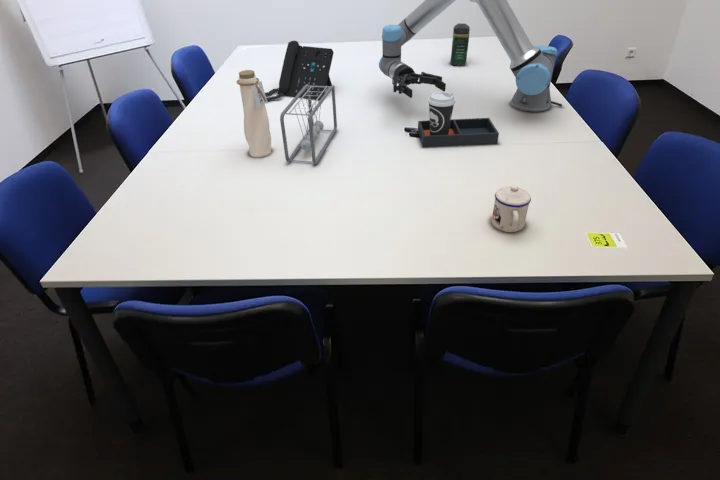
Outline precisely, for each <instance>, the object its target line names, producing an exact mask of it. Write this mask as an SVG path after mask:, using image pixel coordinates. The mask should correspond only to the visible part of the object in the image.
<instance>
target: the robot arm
mask: <svg viewBox="0 0 720 480" xmlns="http://www.w3.org/2000/svg"><path fill="white" fill-rule="evenodd" d="M455 1H456V0H424V1H423V2H422V3H420V4H419V5H418V6H417V7H416V8H414V10H413V11H411V12H410V14H408V15H407V16H406V17H405V18H404V19H402V20H401V22H399V23H398V24H388V25H385V26H383V27H382V33H381V34H382V35H381V39H382V42H381V43H382V44H381V45H382V56H381V58H380V59H379V61H378V68H379V70H380V72H382V73H383V75H384V76H386V77H388V78H390V79H391V84H392V88H393V89H392V92H393V93H398V95H402V94H403V95H406V96H407V97H409V98H410V99H412V98H413V89H412V88H410V87H409V86H410V85H422V84H424V85H433V86H434V87H435V88H437V89H439V90H440V91H441V92H446V87H447V83H445V82H444V81H443V76H440V75H436V74H432V73H427V72H425V71H421V72H420V73H416V72H415V70H414V69H413V68H412V67H411V66H410V65H408V64H406V63H404V62H403V61H402V47H403V46H404V45H405V44H406V43H407V42H409V41H410V40H411V39H412V38H414V37H415V36H416V35H417V34H418V33H419V32H420V31H421V30H423V29H424V27H426V26H427V25H428V24H430V23H431V22H432V21H433V20H434V19H436V17H438V16H439V15H440V14H441V13H442V12H444V11H445V10H446V9H447V8H449V6H451V5H452V4H454V2H455ZM469 2H472V3H475V4H477V5H478V8H479V9H480V11H481V12H482V14H483V16H484V17H485V20H486V21H487V23H488V24H489V26H490V28H491V29H492V31H493V33H494V34H495V36H496V38H497V40H498V42H499V43H500V45H501V46H502V48H503V50H504V51H505V53H506V55H507V57H508V58H509V60H510V64H509V69H510V71H511V73H512V74H513V76H514V78H515V84H516V91H515V92H514V94H513V96H512V98H511V106H512V107H513V108H515V109H517V110H520V111H522V112H528V113H540V112H545V111H547V110H549V109H550V108H551V106H552V105H555V106H558V107H562V106H563V104H562V103H559V102H556V101H553V100H552V97H551V88H550V87H551V83H552V78H553V73H554V69H555V64H556V59H557V57H558V49H557V48H556V47H554V46H549V45H541V44H540V45H537V44H534V45H533V44H532V42H531V40H530V39H529V36H528V35H527V33H526V31H525V30H524V27H523V26H522V24H521V22H520V21H519V19H518V17H517V16H516V13H515V12H514V10H513V9H512V7H511V5H510V3H509V1H508V0H469Z"/></svg>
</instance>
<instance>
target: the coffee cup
mask: <svg viewBox="0 0 720 480" xmlns="http://www.w3.org/2000/svg"><path fill="white" fill-rule="evenodd" d="M427 103H428V110H429V111H428V112H429V113H428V114H429V116H428V117H429V120H430V135H448V134H449V128H450V123H451V119H452V116H453V111H454V106H455V104H456V103H457V101H456V98H455V95H454V94H453V93H451V92H448V91H444V92H443V91H434V92H432V93H431V94H430V95H429V97H428V99H427Z"/></svg>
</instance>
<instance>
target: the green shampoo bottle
mask: <svg viewBox="0 0 720 480" xmlns="http://www.w3.org/2000/svg"><path fill="white" fill-rule="evenodd" d="M470 31H471V29H470V26H469V25H468V24H467V23H462V22H461V23H457V24H455V25H454V26H453V31H452V42H451V53H450V64H451V66H456V67H461V66H465V65H467V60H468V49H469V43H470Z"/></svg>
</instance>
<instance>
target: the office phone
mask: <svg viewBox="0 0 720 480" xmlns="http://www.w3.org/2000/svg"><path fill="white" fill-rule="evenodd" d="M333 57H334V50H333V49H332V48H329V47H328V48H327V47H319V46H317V47H316V46H306V45H303V46H302V45H300V43H299V41H297V40H291V41H288V42H287V47H286V50H285V54H284V57H283V63H282V68H281V72H280V75H279V76H280V77H279V80H278V81H279V82H278V88H272V89H270V90H269V91H266V92H265V96H266V99H267V102H268V101H269V102H270V101H274V100H279V99H281V98H282V97H283V96H287V97H288V96H289V97H295V96H296V95H297V94H298V93H299V92H300V91H301V89H302V88H303V87H304V86H305V85H306V84H308V85H309V86H329V87H330V86H331V85H333V83H332V81H331V80H332V79H331V77H330V71H331V67H332V63H333ZM324 89H325V87H311V89H310V91H313V92H310V95H312V96H311V100H316V99H317V98H318V97H319V95H320V94H321V93H322V91H323V90H324ZM275 92H277V95H274V96H273V94H275ZM306 92H307V89H306V90H305V91H304V92H303V93H302V95H301V96H300V97H299V98H302V96H303V95H304V94H305V93H306ZM325 93H326V89H325V91H324V92H323V93H322V97H323V95H324V94H325ZM271 95H272V96H271ZM306 95H307V93H306ZM303 99H308V96H306V97H305V96H304V97H303ZM320 100H321V96H320V97H319V101H320Z"/></svg>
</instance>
